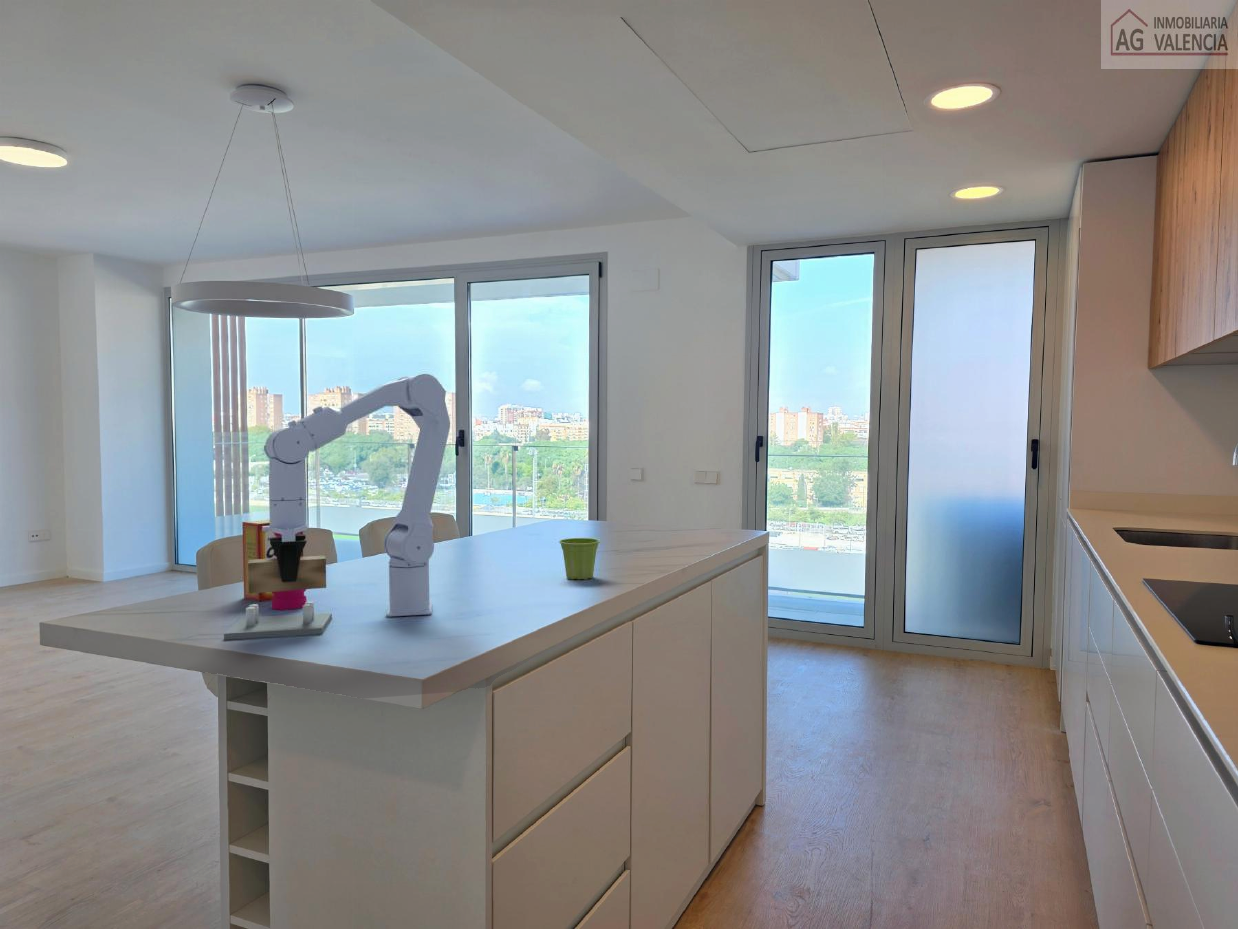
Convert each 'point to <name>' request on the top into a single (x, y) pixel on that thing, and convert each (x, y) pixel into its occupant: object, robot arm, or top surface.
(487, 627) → the top surface
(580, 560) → the plant pot
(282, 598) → the pepper mill
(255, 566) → the walnut plank
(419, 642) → the top surface
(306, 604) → the peg stand
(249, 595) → the food box
